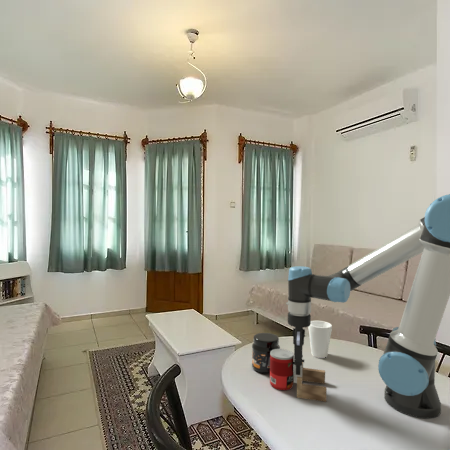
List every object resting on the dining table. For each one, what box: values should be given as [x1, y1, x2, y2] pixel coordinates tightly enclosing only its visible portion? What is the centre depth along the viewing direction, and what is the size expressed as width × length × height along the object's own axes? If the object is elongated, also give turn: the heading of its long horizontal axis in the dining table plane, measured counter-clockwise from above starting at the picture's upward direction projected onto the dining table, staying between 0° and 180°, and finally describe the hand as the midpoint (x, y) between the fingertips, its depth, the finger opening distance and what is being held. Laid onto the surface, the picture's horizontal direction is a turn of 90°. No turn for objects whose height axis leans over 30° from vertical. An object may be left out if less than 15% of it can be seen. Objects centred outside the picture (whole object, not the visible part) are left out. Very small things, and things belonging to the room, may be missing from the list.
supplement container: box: [251, 332, 281, 375], centre depth 124 cm, size 10×10×12 cm
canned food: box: [269, 348, 294, 391], centre depth 111 cm, size 8×8×11 cm
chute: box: [296, 362, 327, 403], centre depth 109 cm, size 9×13×6 cm
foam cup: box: [307, 320, 333, 359], centre depth 136 cm, size 10×9×13 cm
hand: (297, 382), depth 110 cm, fingers closed
